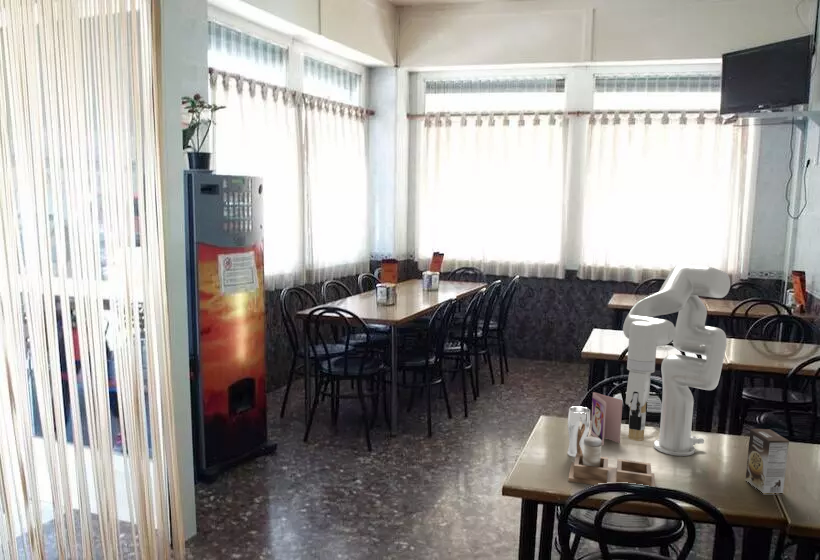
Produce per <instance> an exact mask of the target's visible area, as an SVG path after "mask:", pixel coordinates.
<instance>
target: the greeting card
mask: <svg viewBox="0 0 820 560" xmlns="http://www.w3.org/2000/svg"><path fill="white" fill-rule="evenodd" d="M591 399H592V400H591V401H592V403H591V405H592V406H591V417H590V435H592V437H596V438H599V439H601V441H602V442H601V446H603V447H604V445H605V443H604V442H605V438H607V439H606V440H608V439H609V441H611V440H612V442H614V441H615V443H617V442H618V444H621V434H622V433H621V432H622V431H621V429H622V416H623V415H622V414H623V402H624V401H623V399H620V398H616V397H612V396H608V395H605V394H601V393H599V392H595V391H593V392H592V397H591Z"/></svg>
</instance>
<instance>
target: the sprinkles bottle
mask: <svg viewBox="0 0 820 560" xmlns="http://www.w3.org/2000/svg"><path fill="white" fill-rule="evenodd" d="M631 401H632V400H631ZM647 403H648V400H647V399H646V403H645V405H644V406H643V407H642V408H641V417H642V420H641V430H634V429H630V428H629V427H628V435H627V438H628V439H630V440H631V441H636V442H643V441H644V440H645V429H646V428H645V427H646V416H647V411H646V409H647ZM629 405H630V406H629V407H630V408H629V411H630V410H631V404H629ZM637 405H639V406H640V404H638V403H637ZM637 409H638V410H639V408H637ZM638 412H639V411H638ZM629 419H630V415H629ZM629 419H628V420H629Z"/></svg>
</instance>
